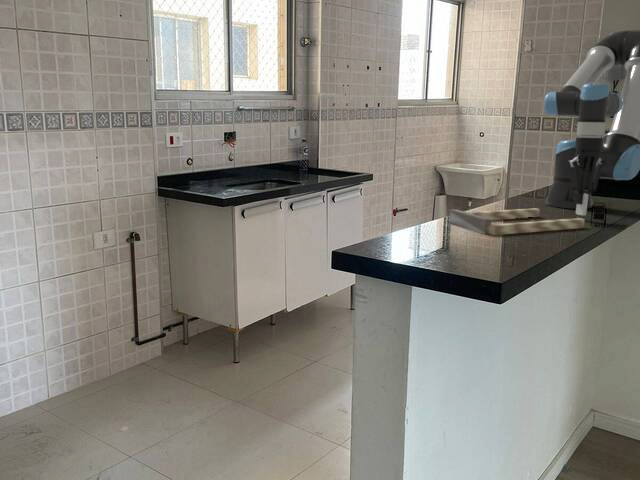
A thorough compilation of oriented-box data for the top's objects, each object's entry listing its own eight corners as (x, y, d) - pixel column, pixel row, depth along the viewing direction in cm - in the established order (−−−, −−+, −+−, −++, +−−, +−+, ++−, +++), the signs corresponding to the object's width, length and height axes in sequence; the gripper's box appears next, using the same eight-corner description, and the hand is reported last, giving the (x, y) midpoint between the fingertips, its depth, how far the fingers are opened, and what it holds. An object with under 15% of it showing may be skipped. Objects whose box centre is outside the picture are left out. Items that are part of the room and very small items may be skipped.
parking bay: (534, 215, 190) (535, 203, 189) (583, 227, 172) (585, 214, 171) (445, 222, 178) (446, 208, 177) (488, 235, 160) (489, 220, 159)
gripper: (595, 136, 185) (587, 211, 190) (563, 136, 180) (555, 213, 185) (616, 137, 178) (606, 215, 183) (583, 137, 173) (574, 217, 178)
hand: (580, 214), depth 184 cm, fingers closed
